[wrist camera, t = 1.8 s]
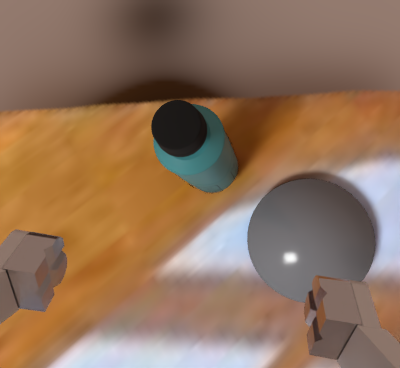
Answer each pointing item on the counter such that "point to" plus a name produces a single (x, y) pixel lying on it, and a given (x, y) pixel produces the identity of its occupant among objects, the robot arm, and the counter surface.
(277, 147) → the counter surface
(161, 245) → the counter surface
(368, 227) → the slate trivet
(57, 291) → the counter surface
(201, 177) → the beverage bottle
